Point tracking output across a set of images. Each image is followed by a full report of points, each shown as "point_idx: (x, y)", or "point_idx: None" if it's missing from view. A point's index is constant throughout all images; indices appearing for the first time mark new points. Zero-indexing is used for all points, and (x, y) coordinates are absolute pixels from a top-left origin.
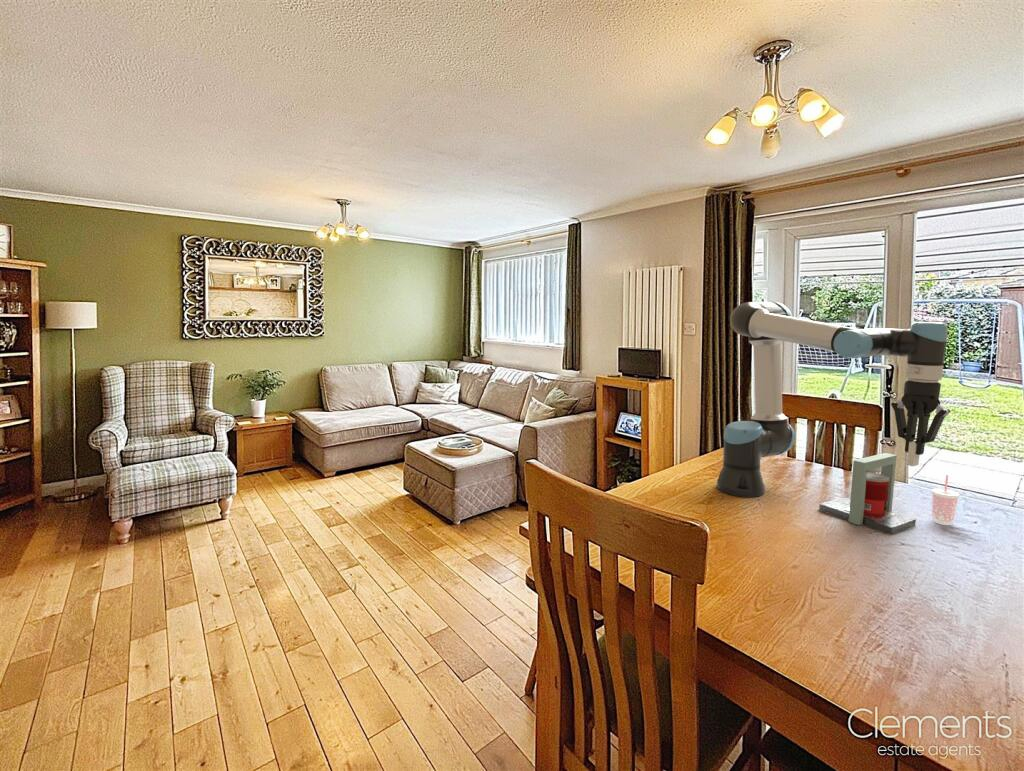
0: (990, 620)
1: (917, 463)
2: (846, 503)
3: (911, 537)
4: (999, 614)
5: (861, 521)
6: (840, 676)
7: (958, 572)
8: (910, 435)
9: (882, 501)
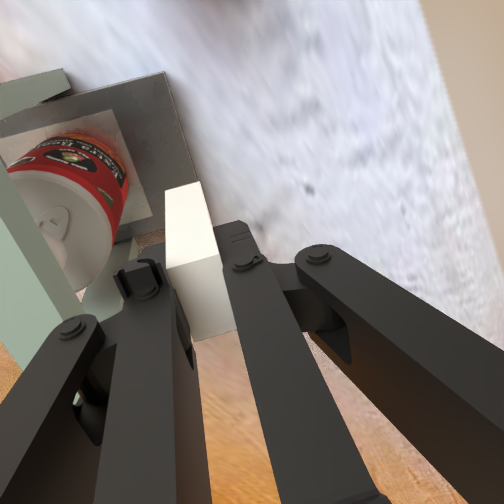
0: (488, 320)
1: (204, 197)
2: None
3: (234, 168)
4: (490, 296)
5: (135, 245)
6: (449, 499)
7: (395, 232)
8: (196, 383)
9: (123, 201)
